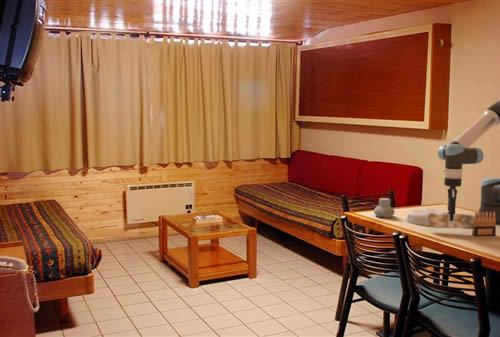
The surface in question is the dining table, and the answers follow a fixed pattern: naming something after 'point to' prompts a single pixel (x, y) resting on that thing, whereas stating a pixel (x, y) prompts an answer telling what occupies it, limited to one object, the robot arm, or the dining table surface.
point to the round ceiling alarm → (420, 216)
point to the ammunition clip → (484, 225)
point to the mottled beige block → (442, 220)
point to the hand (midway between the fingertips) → (450, 226)
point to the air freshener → (384, 208)
